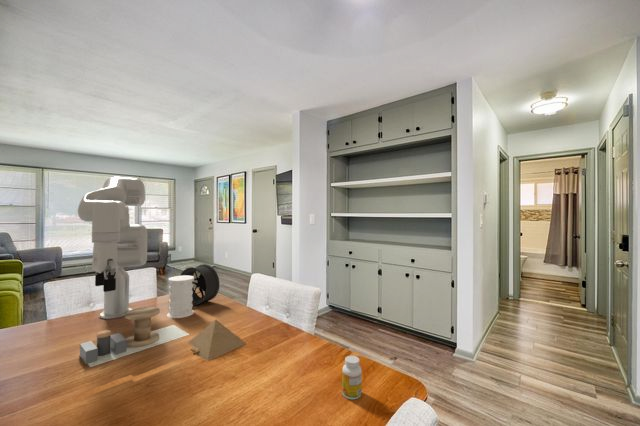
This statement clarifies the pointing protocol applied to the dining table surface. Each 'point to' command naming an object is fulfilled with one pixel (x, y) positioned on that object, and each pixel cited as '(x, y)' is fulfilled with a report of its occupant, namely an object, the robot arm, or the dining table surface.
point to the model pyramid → (215, 341)
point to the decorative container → (180, 296)
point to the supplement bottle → (351, 378)
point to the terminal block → (91, 351)
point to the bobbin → (142, 326)
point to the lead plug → (103, 342)
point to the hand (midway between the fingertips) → (105, 288)
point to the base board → (164, 336)
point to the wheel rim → (203, 283)
